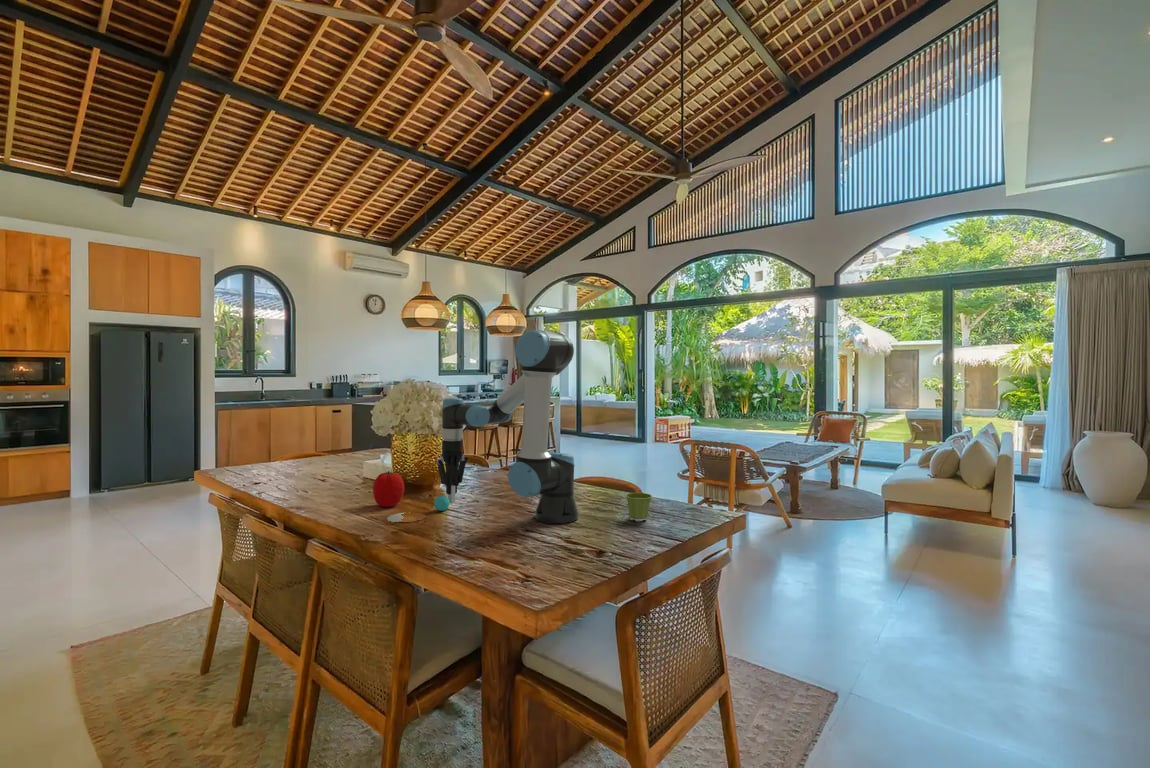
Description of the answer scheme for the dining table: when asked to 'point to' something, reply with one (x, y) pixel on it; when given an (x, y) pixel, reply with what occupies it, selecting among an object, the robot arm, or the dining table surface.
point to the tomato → (388, 489)
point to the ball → (441, 503)
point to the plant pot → (638, 505)
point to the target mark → (395, 517)
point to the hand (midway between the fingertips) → (451, 502)
